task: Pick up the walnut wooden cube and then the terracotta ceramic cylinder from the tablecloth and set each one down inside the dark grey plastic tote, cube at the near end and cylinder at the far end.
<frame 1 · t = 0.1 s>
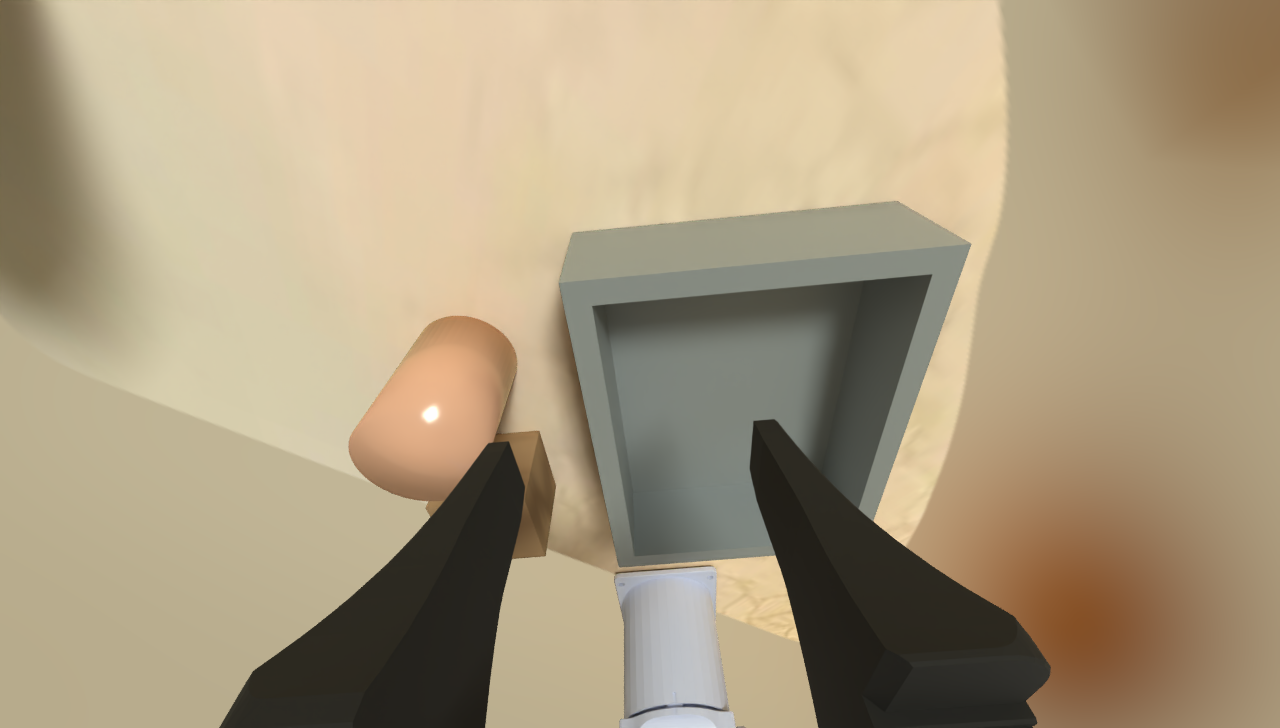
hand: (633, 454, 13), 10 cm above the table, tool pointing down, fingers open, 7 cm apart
tote: (727, 381, 25), on the table
terracotta cylinder: (468, 358, 23), on the table
walnut cube: (508, 462, 28), on the table
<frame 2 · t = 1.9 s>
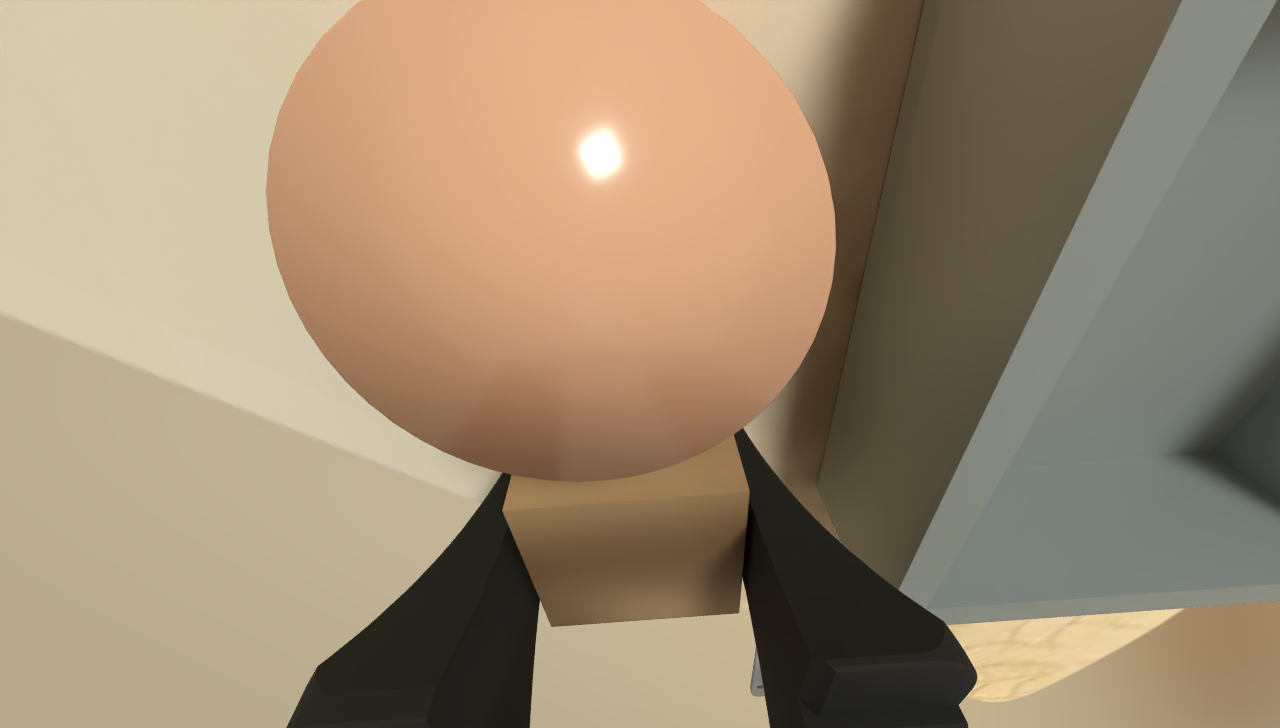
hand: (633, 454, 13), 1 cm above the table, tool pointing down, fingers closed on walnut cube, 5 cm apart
tote: (1148, 231, 11), on the table
terracotta cylinder: (598, 155, 10), on the table
walnut cube: (632, 422, 15), on the table, touching gripper
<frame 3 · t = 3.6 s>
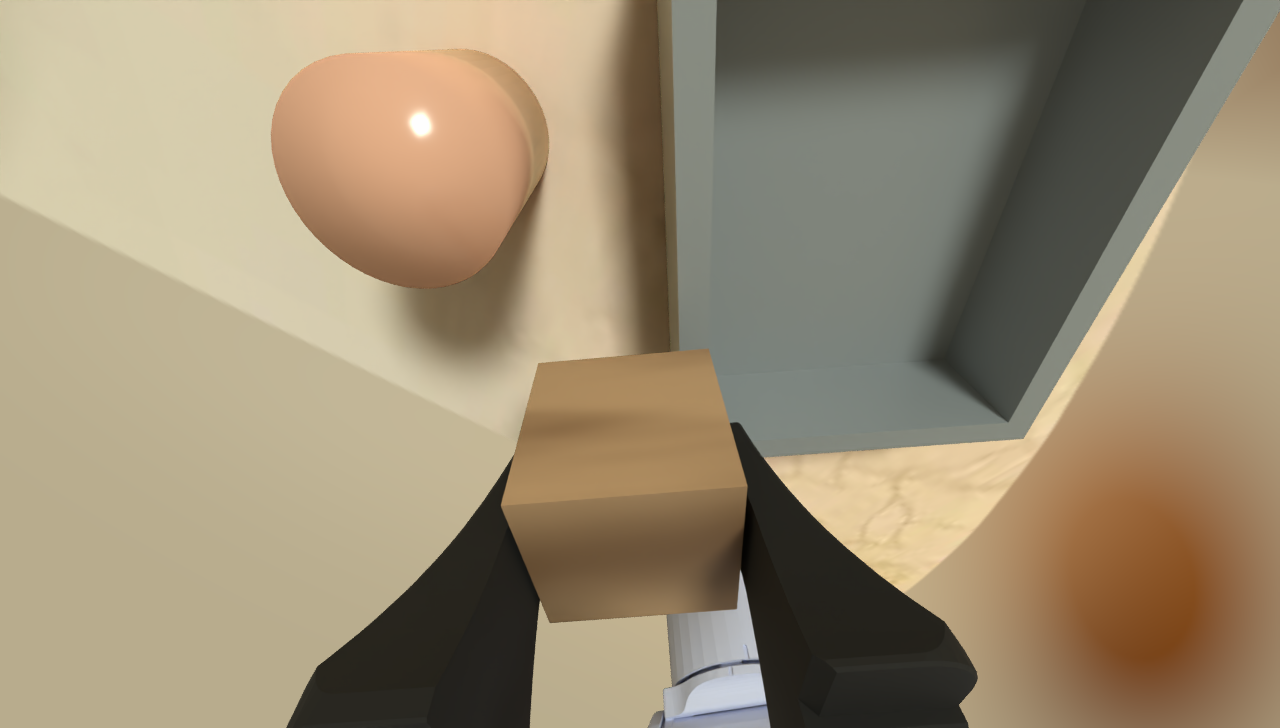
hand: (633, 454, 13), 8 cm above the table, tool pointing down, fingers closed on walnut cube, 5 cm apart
tote: (845, 192, 17), on the table
terracotta cylinder: (477, 135, 16), on the table
walnut cube: (631, 419, 15), point 7 cm above the table, touching gripper
when the fingers open (3 cm above the table, at t = 5.6 s): walnut cube drops 1 cm, resting on tote.
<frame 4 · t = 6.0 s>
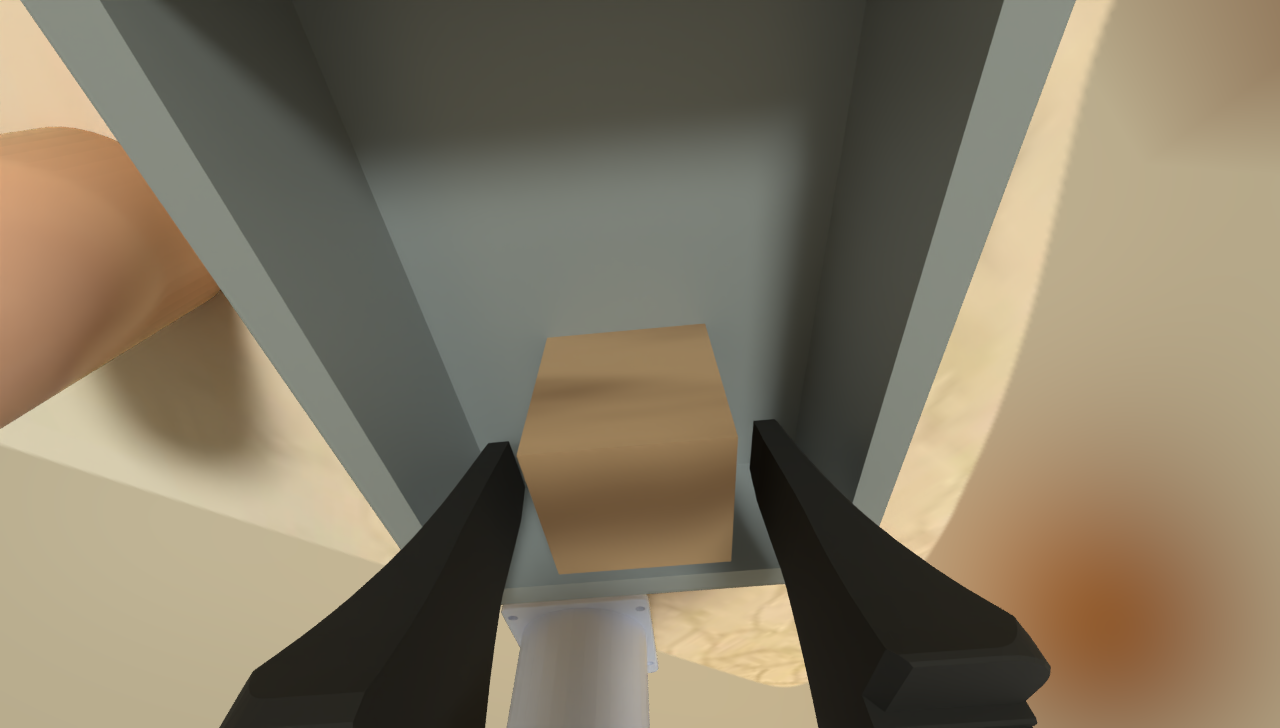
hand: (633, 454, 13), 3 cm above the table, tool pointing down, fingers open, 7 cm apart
tote: (619, 282, 14), on the table
terracotta cylinder: (124, 227, 12), on the table
walnut cube: (633, 392, 16), point 1 cm above the table, touching tote
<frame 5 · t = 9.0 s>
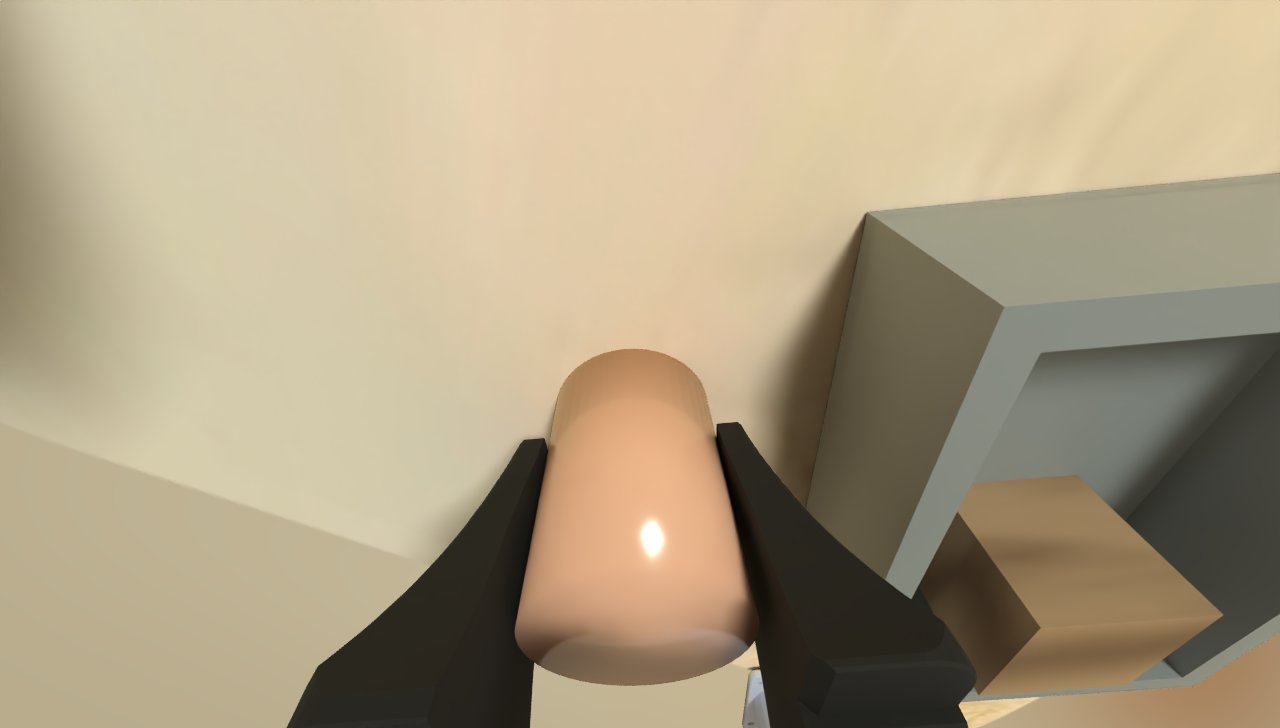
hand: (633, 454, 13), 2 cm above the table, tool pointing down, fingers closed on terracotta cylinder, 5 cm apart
tote: (1009, 442, 16), on the table
terracotta cylinder: (632, 411, 15), on the table, touching gripper
walnut cube: (983, 521, 18), point 1 cm above the table, touching tote
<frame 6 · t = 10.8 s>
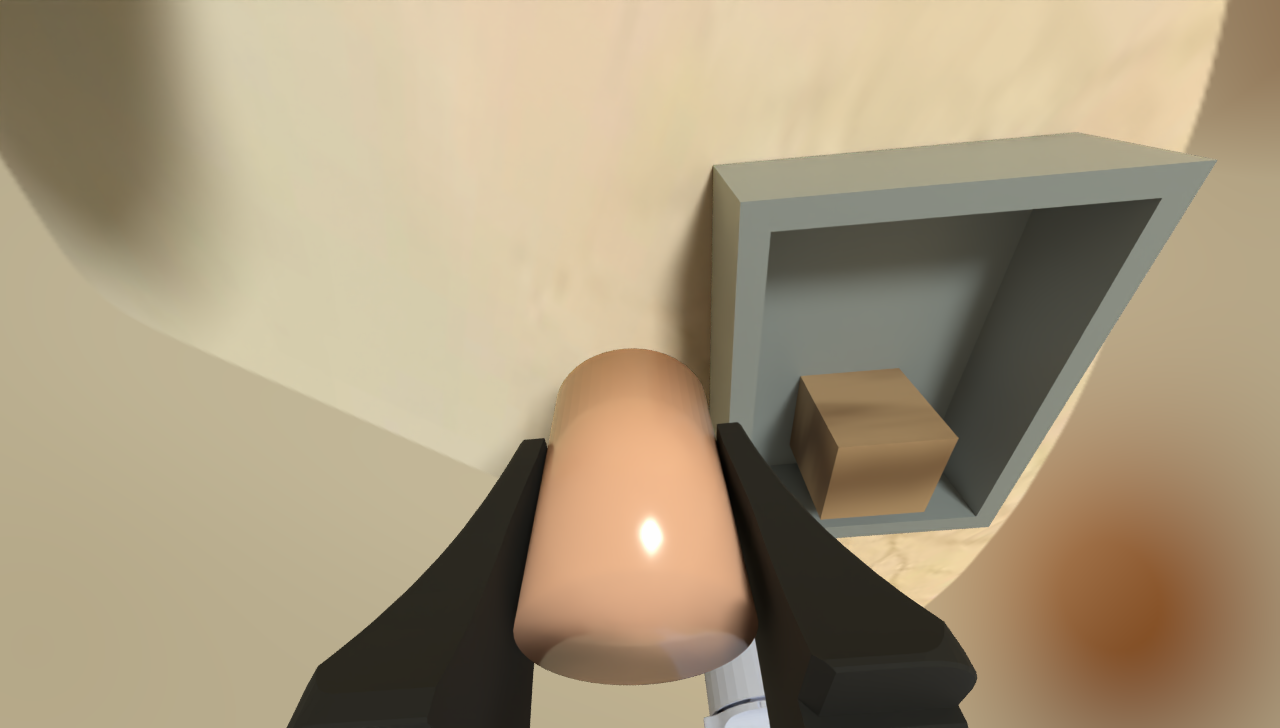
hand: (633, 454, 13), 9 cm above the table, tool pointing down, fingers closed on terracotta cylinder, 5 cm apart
tote: (849, 343, 23), on the table
terracotta cylinder: (631, 411, 15), point 7 cm above the table, touching gripper
walnut cube: (840, 408, 24), point 1 cm above the table, touching tote
when the fingers open (4 cm above the table, at t = 13.1 s): terracotta cylinder drops 1 cm, resting on tote.
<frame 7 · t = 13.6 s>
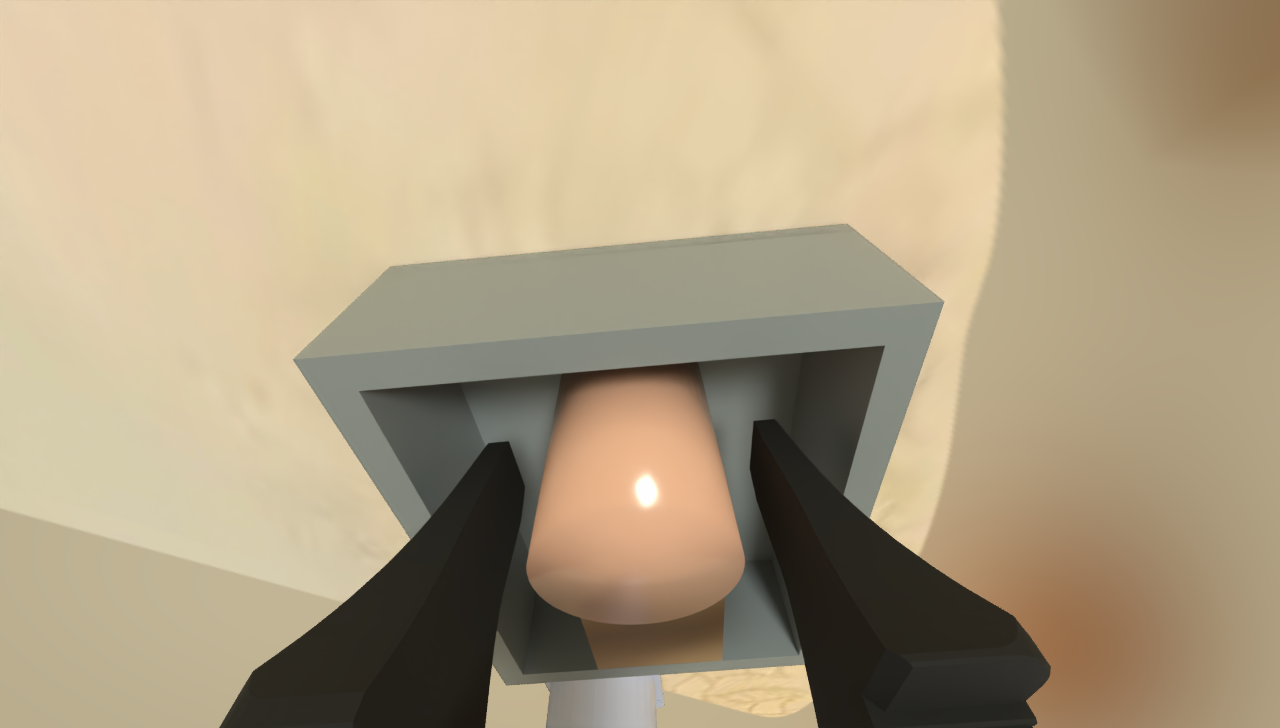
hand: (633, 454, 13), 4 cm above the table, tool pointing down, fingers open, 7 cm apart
tote: (640, 451, 19), on the table
terracotta cylinder: (631, 385, 16), point 1 cm above the table, touching tote
walnut cube: (649, 519, 21), point 1 cm above the table, touching tote
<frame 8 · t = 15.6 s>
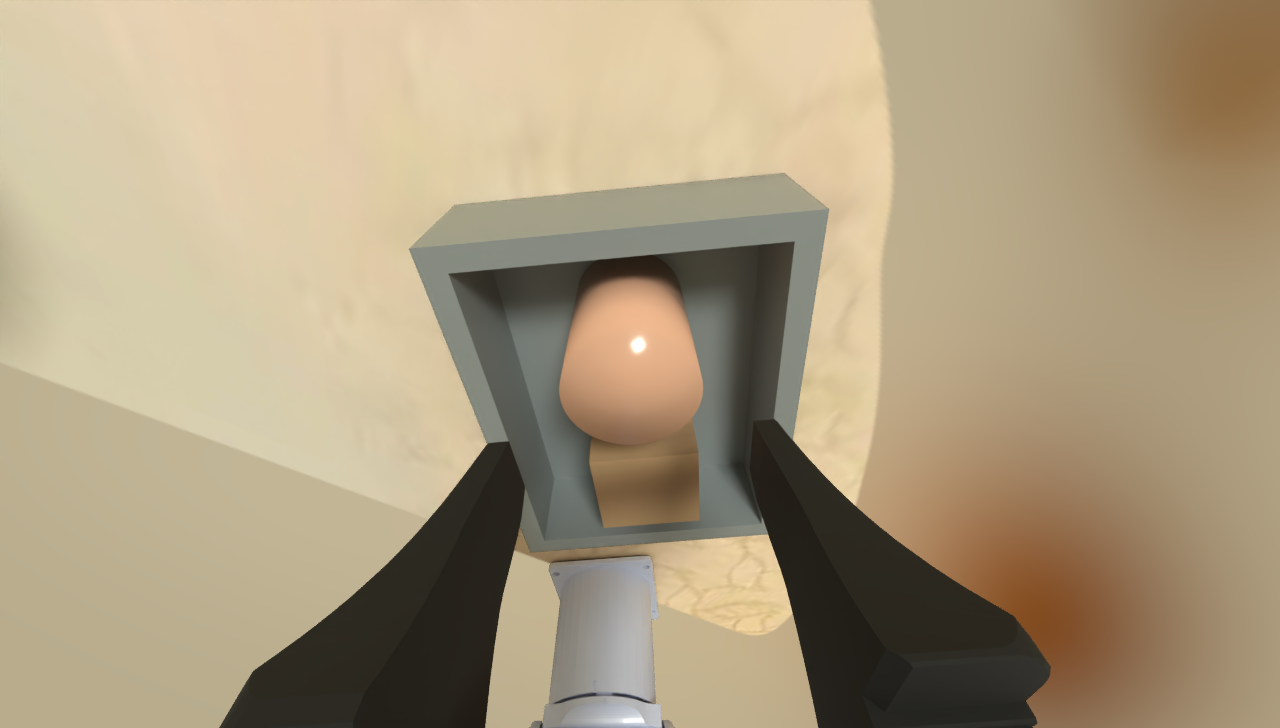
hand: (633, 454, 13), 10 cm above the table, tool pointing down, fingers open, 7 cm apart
tote: (636, 362, 24), on the table
terracotta cylinder: (629, 300, 21), point 1 cm above the table, touching tote
walnut cube: (644, 422, 26), point 1 cm above the table, touching tote
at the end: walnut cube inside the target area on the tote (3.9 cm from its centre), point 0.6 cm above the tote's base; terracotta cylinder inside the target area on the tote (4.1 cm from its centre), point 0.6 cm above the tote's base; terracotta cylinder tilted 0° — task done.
